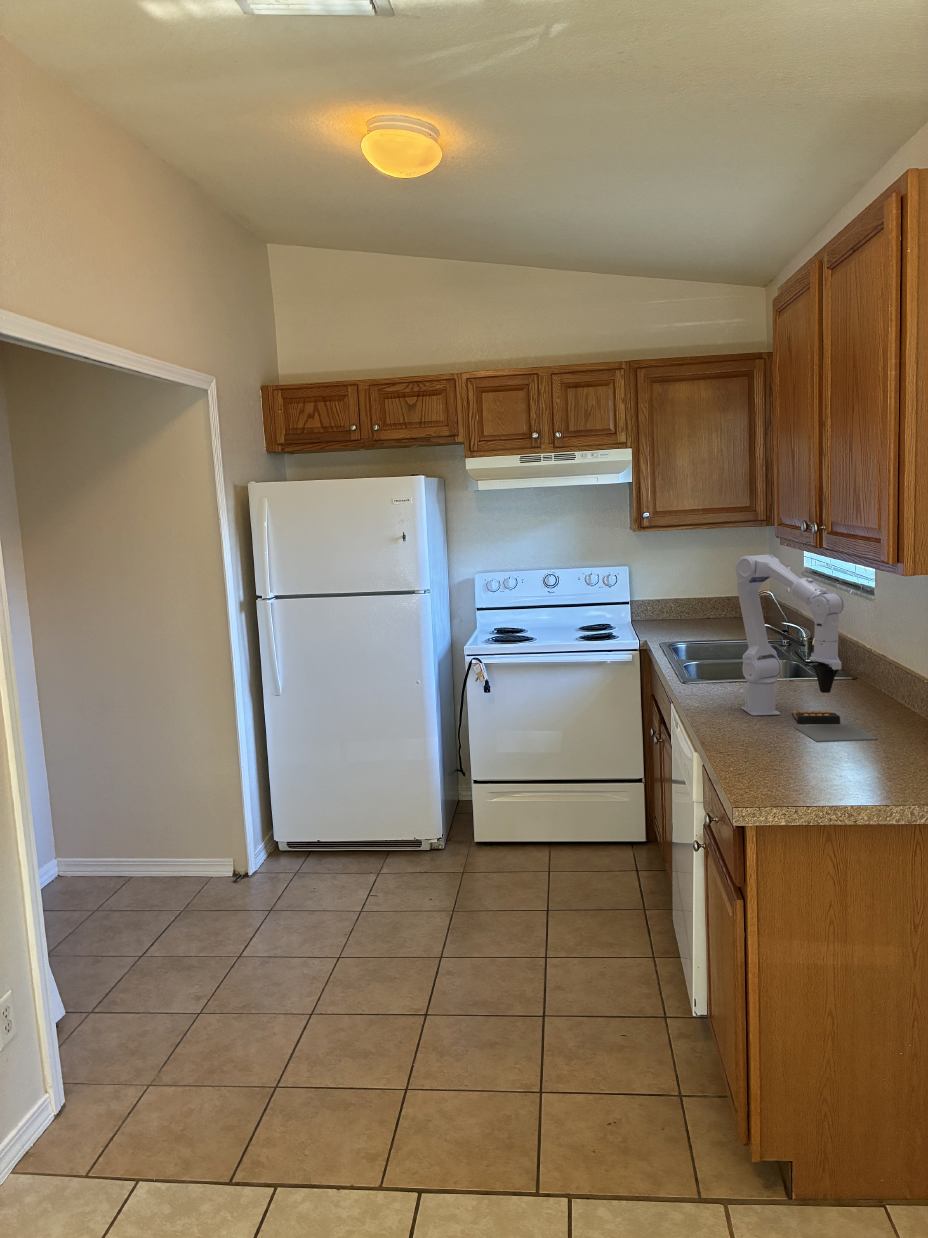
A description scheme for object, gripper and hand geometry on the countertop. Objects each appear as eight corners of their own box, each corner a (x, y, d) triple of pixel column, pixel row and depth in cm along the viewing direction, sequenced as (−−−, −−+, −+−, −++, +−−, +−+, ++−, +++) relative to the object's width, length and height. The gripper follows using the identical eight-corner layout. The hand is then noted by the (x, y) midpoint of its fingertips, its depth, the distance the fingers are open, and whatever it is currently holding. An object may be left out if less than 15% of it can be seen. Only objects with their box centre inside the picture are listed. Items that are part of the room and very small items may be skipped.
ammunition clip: (840, 723, 245) (829, 714, 256) (840, 716, 244) (829, 707, 256) (797, 723, 246) (789, 714, 258) (798, 716, 246) (789, 707, 258)
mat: (793, 727, 243) (793, 726, 243) (850, 725, 243) (850, 724, 243) (816, 742, 228) (816, 741, 228) (877, 740, 228) (877, 738, 228)
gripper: (800, 636, 246) (799, 687, 247) (822, 645, 231) (821, 698, 233) (826, 635, 246) (825, 686, 247) (850, 644, 231) (849, 697, 233)
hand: (825, 692), depth 240 cm, fingers closed
